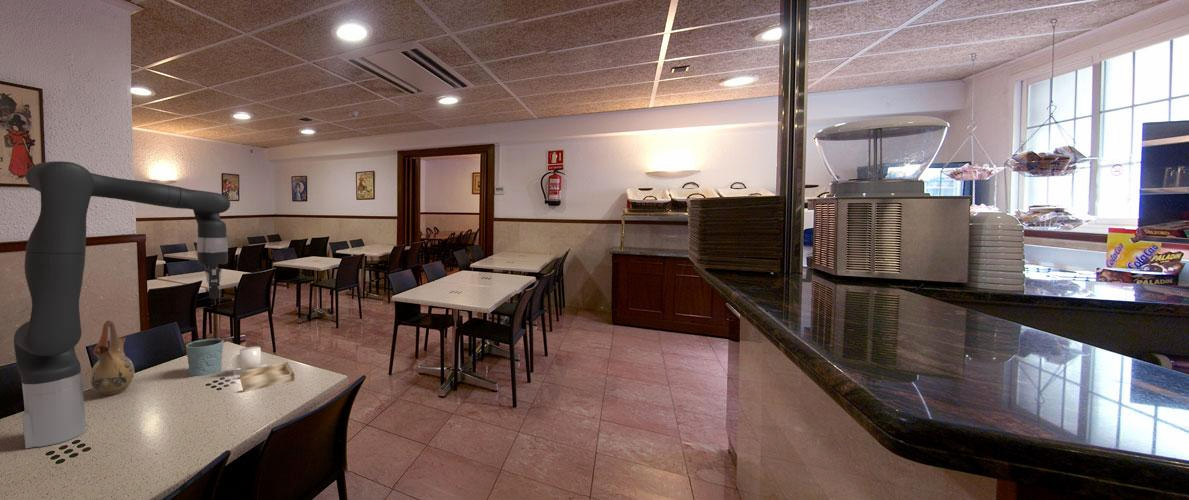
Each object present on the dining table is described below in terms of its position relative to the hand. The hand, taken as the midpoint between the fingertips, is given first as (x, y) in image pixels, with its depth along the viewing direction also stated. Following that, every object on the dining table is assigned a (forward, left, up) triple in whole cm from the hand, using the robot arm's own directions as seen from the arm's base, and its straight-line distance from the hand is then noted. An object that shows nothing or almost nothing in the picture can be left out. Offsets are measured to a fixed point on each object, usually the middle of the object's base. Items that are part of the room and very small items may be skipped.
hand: (213, 296), depth 133 cm
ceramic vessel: (-25, +16, -33) cm, 44 cm away
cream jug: (+8, +6, -32) cm, 34 cm away
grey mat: (+9, +7, -33) cm, 35 cm away
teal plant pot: (-3, +18, -33) cm, 38 cm away
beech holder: (+13, -5, -33) cm, 36 cm away
